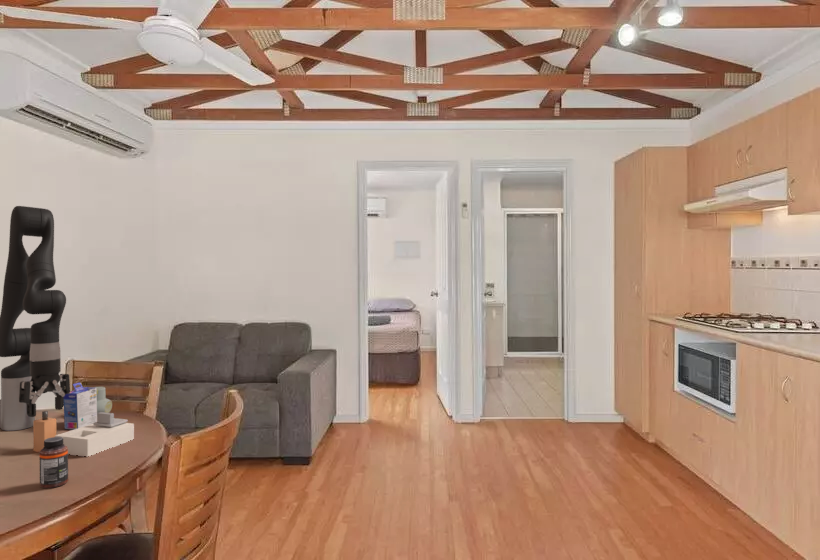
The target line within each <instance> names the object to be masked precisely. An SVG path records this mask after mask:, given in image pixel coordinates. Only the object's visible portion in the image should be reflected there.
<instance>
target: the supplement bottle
mask: <svg viewBox="0 0 820 560" xmlns="http://www.w3.org/2000/svg"><path fill="white" fill-rule="evenodd" d="M63 443H64V442H63V438H62V437H52V438H48V439H45V440H44V448H43V449H42V450H41V451H40V452H39V486H40V488H43V489H54V488H58V487H62V486H64V485H65V484H66V483H68V481H69V454H68V448H67V446H65V445H64V444H63Z"/></svg>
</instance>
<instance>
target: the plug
mask: <svg viewBox="0 0 820 560" xmlns="http://www.w3.org/2000/svg"><path fill="white" fill-rule="evenodd" d="M41 415H42V416H41V418H37V419H35V420H34V421H33V426H32V428H33V433H32V434H33V436H32V437H33V452H36V453H40V451H41V450H42V449H43V448H44V440H45V439H48V438H52V437H55V435H57V418H53V417H49V411H48V410H43V411H41Z"/></svg>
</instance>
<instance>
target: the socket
mask: <svg viewBox="0 0 820 560" xmlns="http://www.w3.org/2000/svg"><path fill="white" fill-rule="evenodd" d="M55 437H62V438H63V442H64V443H63V444H64V445H65V446H67V448H68V455H69V454H70V456H76V455H78V456H79V457H84V456H86V458H89V457H92V456H94V455H96V453H97V454H99V452H100V453H102V452H104V450H105V451H107V449H108V450H110V449H113V448H115V447H119V446H121V445H123V444H125V443H129V442H131V441H133V439H134V440H135V423H131V422H125V423H122V424H119V425H116V426H113V427H107V426H98V425H94V423H93V424H90V425H87V426H84V427H81V428H78V429H70V430H69V431H65V432H62V433H58V434H56V435H55ZM130 440H131V441H130ZM128 441H129V442H128ZM120 444H121V445H120ZM112 447H113V448H112ZM109 448H110V449H109ZM101 451H102V452H101ZM91 455H92V456H91ZM78 456H77V457H78ZM88 456H89V457H88Z"/></svg>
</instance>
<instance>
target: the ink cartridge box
mask: <svg viewBox="0 0 820 560" xmlns="http://www.w3.org/2000/svg"><path fill="white" fill-rule="evenodd" d="M71 385H72V387H73V390H70V393H67V394H66V395H65V396H64V406H63V417H64V418H63V419H64V421H63V422H64V430H74V429H78V428H81V427H84V426H87V425H90V424H94V423H95V422H97V395H96V388H94V387H95V386H94V387H93V386H91V387H89V386H87V387H86V386H85V387H84V386H83V385H82V383H81V382H76V383H72V384H71Z"/></svg>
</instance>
